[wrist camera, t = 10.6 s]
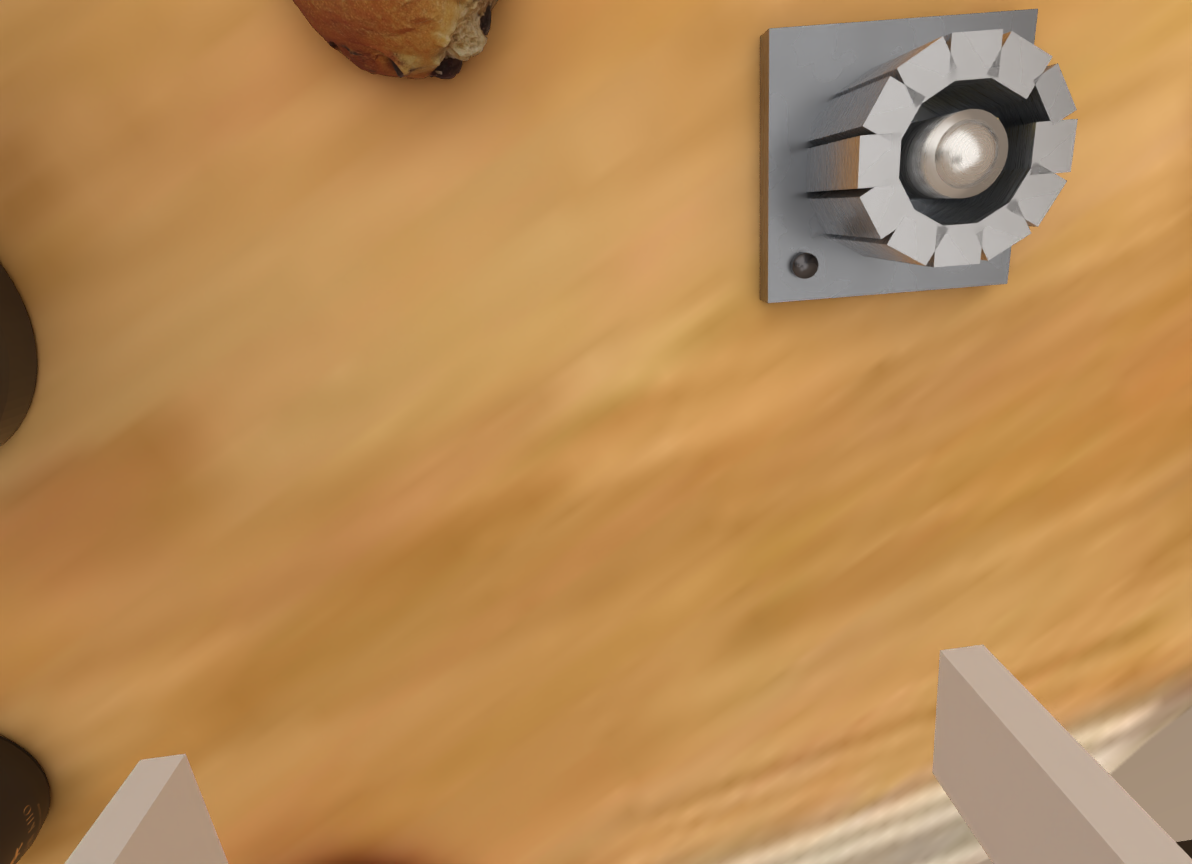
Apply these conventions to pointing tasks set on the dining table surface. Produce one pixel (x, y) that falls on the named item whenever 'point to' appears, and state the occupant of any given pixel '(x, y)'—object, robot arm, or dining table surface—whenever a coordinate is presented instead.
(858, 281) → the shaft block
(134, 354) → the dining table surface
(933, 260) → the tube
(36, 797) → the jar
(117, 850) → the robot arm
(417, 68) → the bread roll
